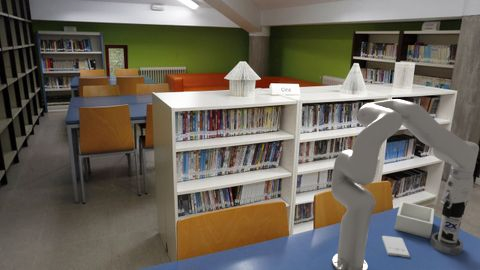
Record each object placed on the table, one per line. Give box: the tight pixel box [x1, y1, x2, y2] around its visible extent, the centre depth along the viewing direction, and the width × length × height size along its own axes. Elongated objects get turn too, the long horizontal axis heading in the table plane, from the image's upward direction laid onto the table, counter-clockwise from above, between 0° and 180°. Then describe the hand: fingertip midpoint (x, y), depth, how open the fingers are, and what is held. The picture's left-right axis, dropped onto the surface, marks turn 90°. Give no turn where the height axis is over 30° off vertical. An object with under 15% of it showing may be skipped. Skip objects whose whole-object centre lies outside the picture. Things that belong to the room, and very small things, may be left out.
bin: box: [394, 200, 435, 240], centre depth 160 cm, size 16×14×7 cm
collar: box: [430, 232, 464, 256], centre depth 145 cm, size 11×11×3 cm
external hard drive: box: [381, 235, 411, 258], centre depth 144 cm, size 2×8×12 cm
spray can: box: [437, 199, 464, 247], centre depth 143 cm, size 7×7×20 cm
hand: (452, 214), depth 141 cm, fingers closed on spray can, 6 cm apart
